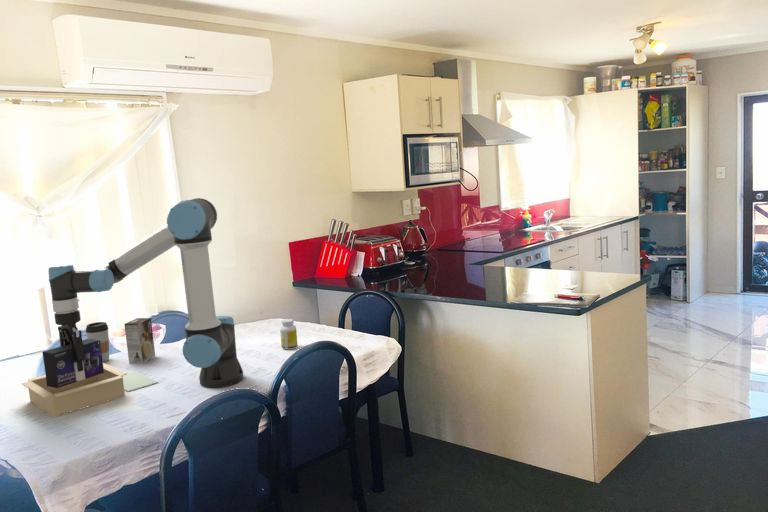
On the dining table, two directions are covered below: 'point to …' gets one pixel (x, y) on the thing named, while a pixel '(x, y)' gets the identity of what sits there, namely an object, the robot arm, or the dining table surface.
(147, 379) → the mat
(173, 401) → the dining table surface
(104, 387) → the tan open rectangular tray
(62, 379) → the box
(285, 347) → the pill bottle
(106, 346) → the coffee cup
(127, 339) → the coffee box
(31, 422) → the dining table surface
